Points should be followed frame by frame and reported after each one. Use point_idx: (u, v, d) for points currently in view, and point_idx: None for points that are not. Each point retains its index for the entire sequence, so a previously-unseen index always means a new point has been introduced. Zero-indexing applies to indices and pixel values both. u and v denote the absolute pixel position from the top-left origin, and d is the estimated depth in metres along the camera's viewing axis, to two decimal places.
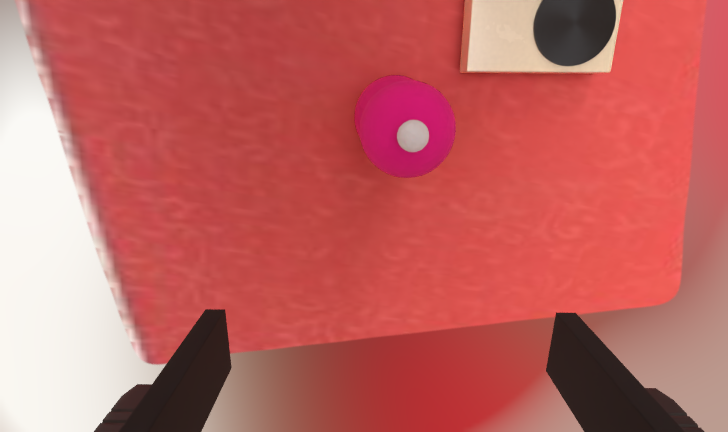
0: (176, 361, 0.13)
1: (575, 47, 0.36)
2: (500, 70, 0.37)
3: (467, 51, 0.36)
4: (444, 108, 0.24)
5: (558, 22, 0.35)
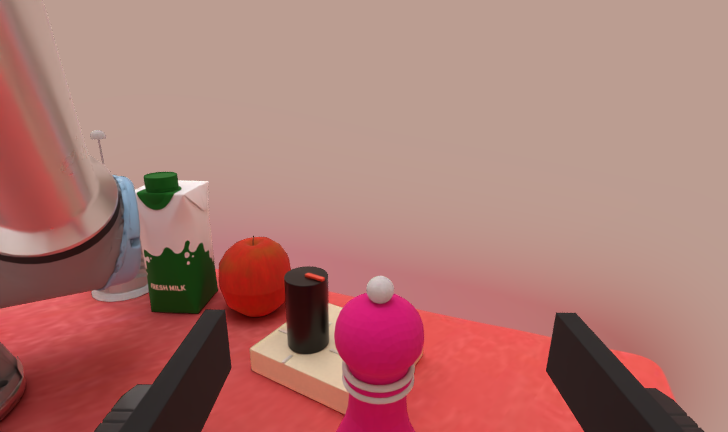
0: (176, 361, 0.13)
1: None
2: None
3: None
4: None
5: None
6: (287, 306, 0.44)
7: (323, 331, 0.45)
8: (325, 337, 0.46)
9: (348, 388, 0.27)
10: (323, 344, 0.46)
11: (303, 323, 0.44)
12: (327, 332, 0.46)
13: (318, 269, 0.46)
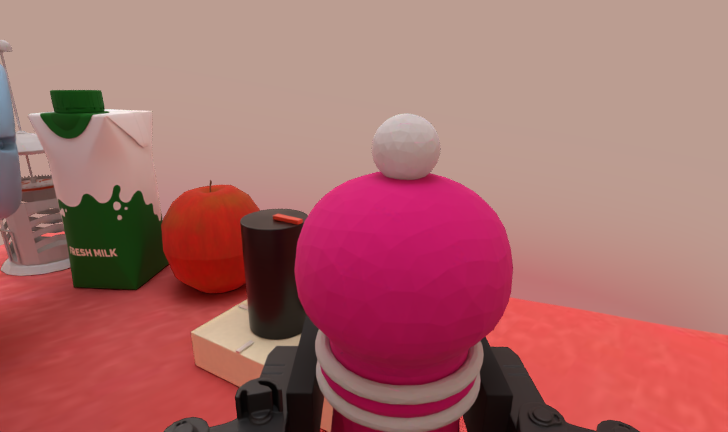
0: (310, 325, 0.15)
1: None
2: None
3: None
4: None
5: None
6: (245, 265, 0.29)
7: None
8: (305, 314, 0.30)
9: (328, 393, 0.11)
10: (302, 324, 0.30)
11: (269, 291, 0.28)
12: None
13: (294, 211, 0.31)
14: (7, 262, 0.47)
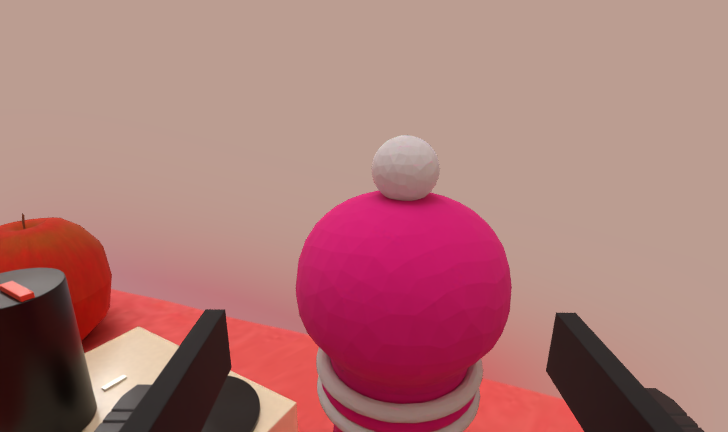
0: (176, 361, 0.13)
1: (224, 426, 0.22)
2: None
3: None
4: None
5: None
6: None
7: (53, 409, 0.21)
8: (64, 420, 0.21)
9: (330, 410, 0.11)
10: None
11: None
12: (73, 408, 0.22)
13: (53, 273, 0.22)
14: None
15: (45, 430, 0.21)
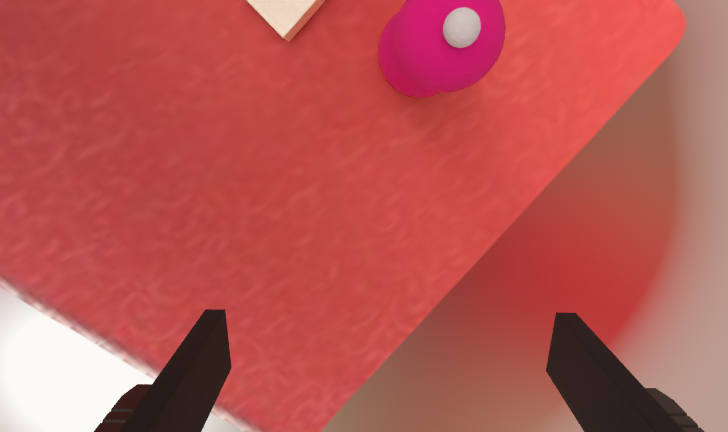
0: (176, 361, 0.13)
1: None
2: (306, 9, 0.34)
3: None
4: None
5: None
6: None
7: None
8: None
9: None
10: None
11: None
12: None
13: None
14: None
15: None
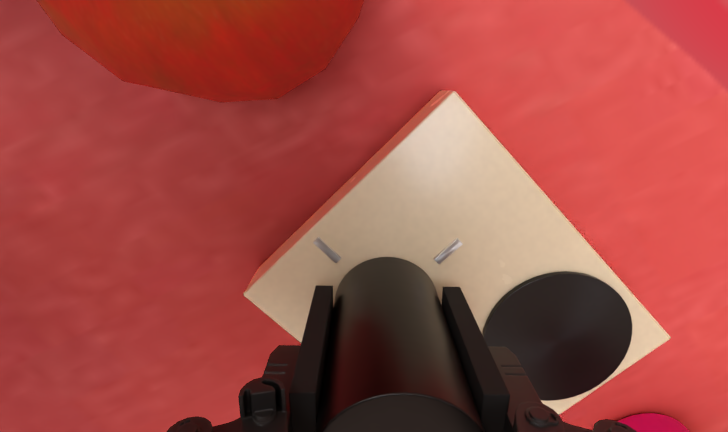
0: (312, 325, 0.15)
1: (586, 362, 0.20)
2: None
3: None
4: None
5: (532, 359, 0.20)
6: None
7: None
8: None
9: None
10: None
11: None
12: None
13: (462, 429, 0.10)
14: None
15: None
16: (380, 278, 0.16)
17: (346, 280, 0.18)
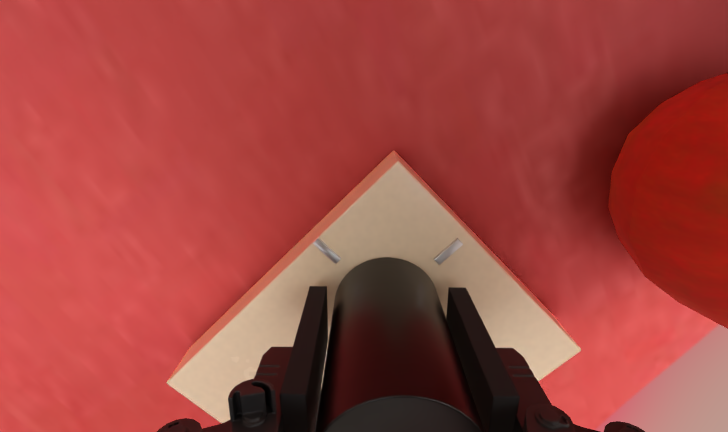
0: (305, 326, 0.15)
1: None
2: (214, 416, 0.21)
3: (189, 358, 0.20)
4: None
5: None
6: None
7: None
8: None
9: None
10: None
11: None
12: None
13: None
14: None
15: None
16: (380, 279, 0.16)
17: (346, 281, 0.18)
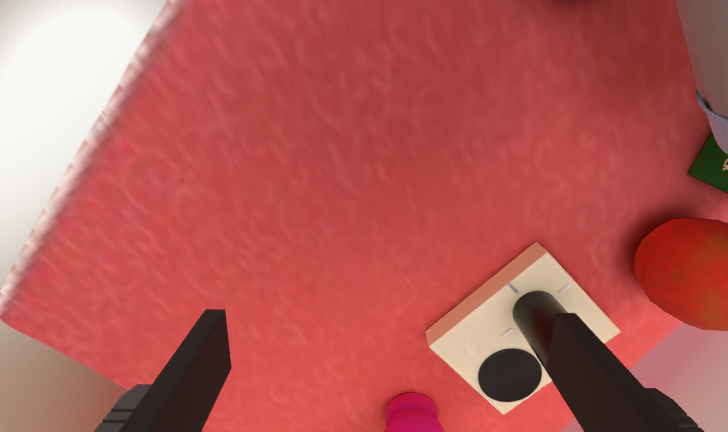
0: (176, 361, 0.13)
1: (498, 388, 0.45)
2: (447, 363, 0.45)
3: (439, 335, 0.44)
4: None
5: (502, 368, 0.45)
6: (533, 349, 0.38)
7: None
8: None
9: None
10: None
11: None
12: None
13: None
14: None
15: None
16: (543, 301, 0.40)
17: (522, 301, 0.41)
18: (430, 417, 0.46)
